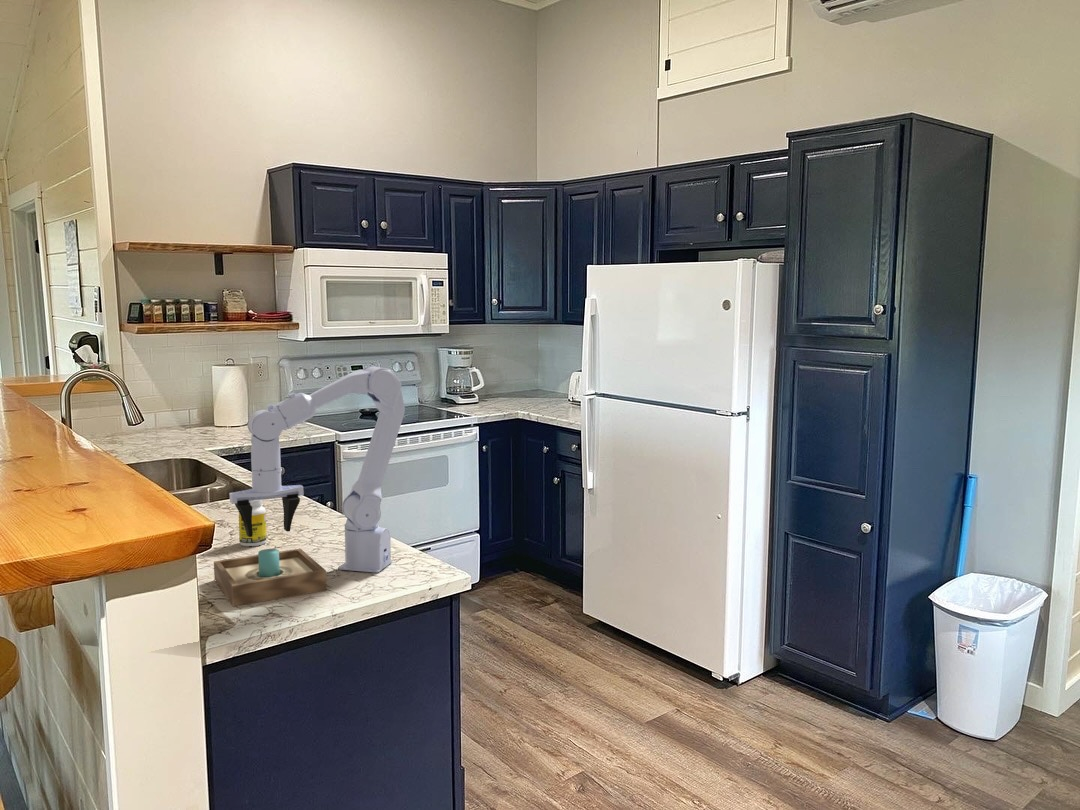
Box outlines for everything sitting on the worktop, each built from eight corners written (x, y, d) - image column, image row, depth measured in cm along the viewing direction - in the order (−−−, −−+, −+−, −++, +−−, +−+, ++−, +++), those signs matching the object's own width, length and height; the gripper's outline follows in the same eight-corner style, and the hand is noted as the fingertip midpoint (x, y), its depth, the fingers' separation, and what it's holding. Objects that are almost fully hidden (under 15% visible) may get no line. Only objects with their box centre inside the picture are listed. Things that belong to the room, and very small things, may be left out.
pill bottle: (238, 548, 194) (236, 502, 193) (240, 541, 200) (239, 496, 199) (266, 546, 196) (264, 500, 194) (267, 539, 202) (266, 495, 200)
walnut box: (301, 566, 181) (300, 548, 180) (326, 589, 165) (326, 570, 165) (214, 580, 171) (213, 561, 171) (233, 606, 156) (232, 586, 155)
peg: (283, 582, 170) (282, 549, 169) (272, 588, 166) (271, 555, 165) (266, 580, 171) (265, 548, 170) (255, 587, 167) (254, 553, 166)
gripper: (295, 462, 176) (297, 523, 178) (225, 469, 168) (227, 533, 170) (305, 467, 170) (307, 531, 172) (233, 474, 163) (235, 541, 164)
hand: (268, 533), depth 171 cm, fingers open, 7 cm apart
